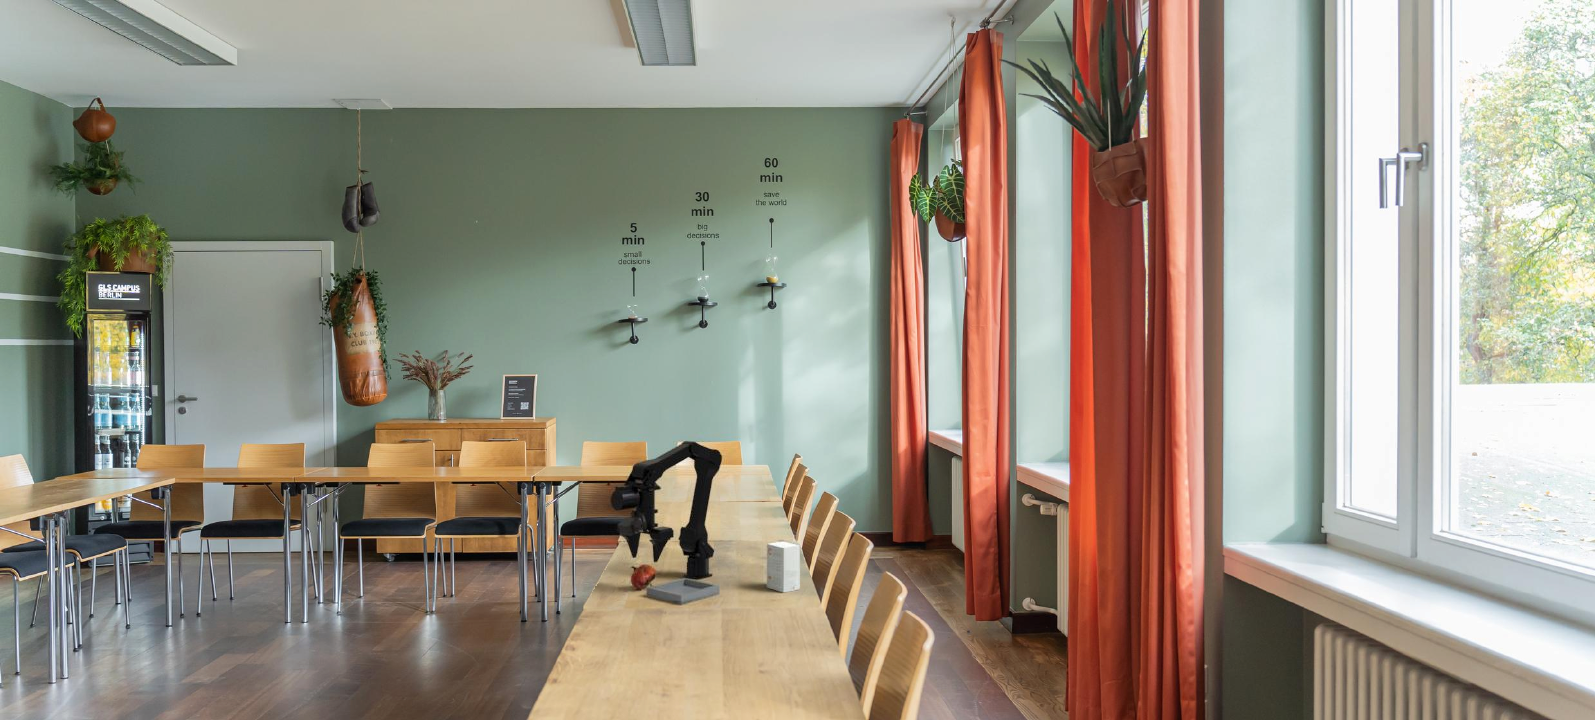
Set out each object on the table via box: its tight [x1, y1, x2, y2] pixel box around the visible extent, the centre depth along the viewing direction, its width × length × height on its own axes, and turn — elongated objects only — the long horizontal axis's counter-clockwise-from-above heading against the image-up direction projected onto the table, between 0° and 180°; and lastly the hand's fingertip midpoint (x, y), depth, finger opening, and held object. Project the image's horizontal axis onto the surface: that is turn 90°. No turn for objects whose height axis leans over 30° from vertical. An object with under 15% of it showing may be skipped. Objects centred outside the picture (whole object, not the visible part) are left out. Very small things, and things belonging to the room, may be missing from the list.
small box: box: [766, 541, 801, 593], centre depth 275 cm, size 8×6×13 cm
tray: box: [646, 577, 720, 605], centre depth 267 cm, size 15×14×2 cm
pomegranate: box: [630, 563, 658, 591], centre depth 274 cm, size 7×7×10 cm
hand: (644, 559), depth 274 cm, fingers open, 9 cm apart
